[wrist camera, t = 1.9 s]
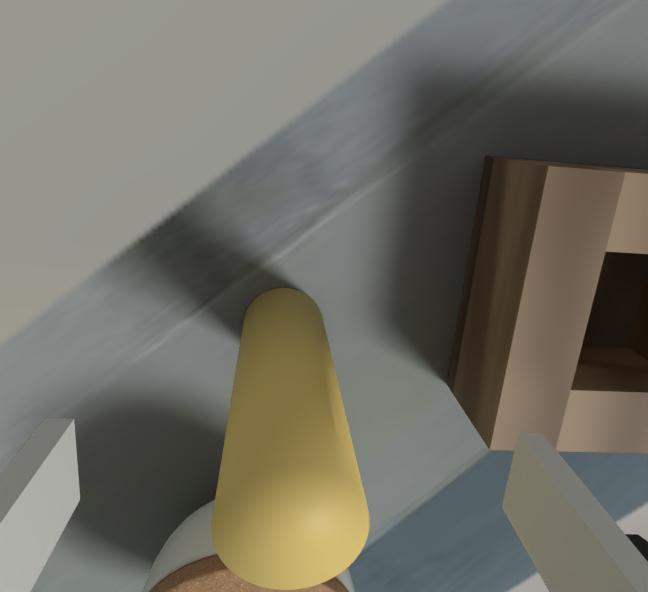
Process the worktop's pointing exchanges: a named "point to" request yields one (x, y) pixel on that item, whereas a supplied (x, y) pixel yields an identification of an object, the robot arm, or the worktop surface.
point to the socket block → (556, 307)
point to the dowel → (287, 454)
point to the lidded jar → (210, 564)
